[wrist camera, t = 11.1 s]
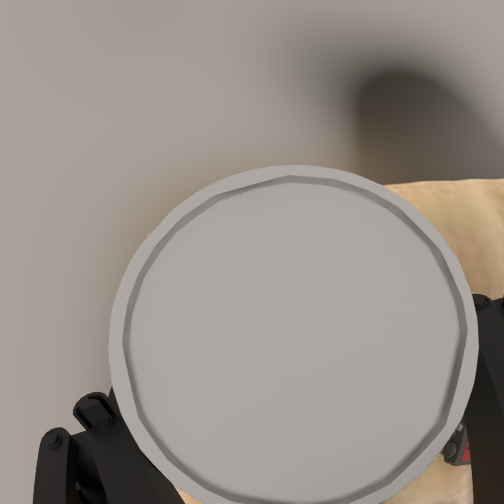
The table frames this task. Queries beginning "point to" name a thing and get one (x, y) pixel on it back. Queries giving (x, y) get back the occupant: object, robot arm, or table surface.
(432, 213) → the table surface
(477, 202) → the table surface
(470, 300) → the disposable coffee cup
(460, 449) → the walkie-talkie
